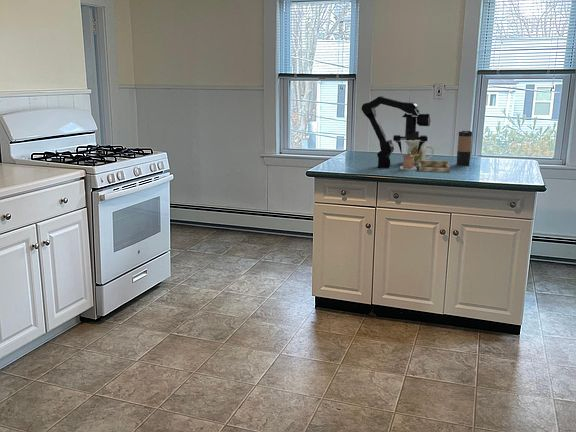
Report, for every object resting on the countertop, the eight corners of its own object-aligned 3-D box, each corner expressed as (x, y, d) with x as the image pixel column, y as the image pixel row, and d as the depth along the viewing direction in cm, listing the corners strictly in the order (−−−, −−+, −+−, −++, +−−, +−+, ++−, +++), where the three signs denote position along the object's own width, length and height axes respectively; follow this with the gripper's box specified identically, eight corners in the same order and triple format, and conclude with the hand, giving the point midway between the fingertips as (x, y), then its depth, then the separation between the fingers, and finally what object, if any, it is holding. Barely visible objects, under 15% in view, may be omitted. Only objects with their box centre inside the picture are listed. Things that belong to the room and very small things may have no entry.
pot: (402, 168, 320) (403, 153, 318) (402, 166, 326) (402, 151, 324) (414, 168, 319) (415, 153, 316) (414, 166, 325) (415, 151, 323)
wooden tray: (419, 172, 314) (419, 165, 313) (418, 167, 330) (418, 160, 329) (449, 173, 311) (450, 165, 310) (447, 167, 327) (447, 161, 326)
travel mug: (470, 166, 330) (473, 132, 325) (456, 166, 332) (459, 132, 326) (468, 164, 337) (471, 131, 332) (455, 164, 339) (458, 130, 334)
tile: (400, 170, 319) (400, 168, 319) (400, 167, 328) (400, 165, 328) (416, 170, 318) (416, 169, 318) (416, 168, 326) (416, 166, 326)
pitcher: (433, 165, 335) (435, 142, 332) (402, 164, 338) (403, 141, 334) (432, 162, 346) (433, 139, 342) (402, 161, 348) (403, 139, 345)
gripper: (393, 126, 310) (392, 155, 314) (428, 127, 307) (427, 155, 311) (393, 124, 321) (392, 152, 325) (427, 125, 318) (426, 153, 322)
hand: (409, 153), depth 320 cm, fingers open, 9 cm apart
